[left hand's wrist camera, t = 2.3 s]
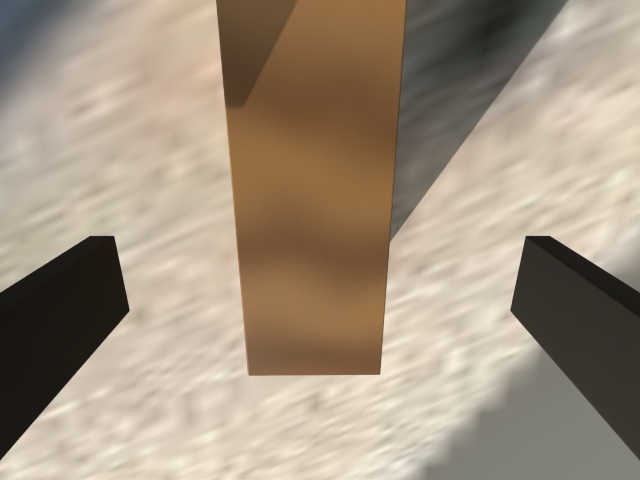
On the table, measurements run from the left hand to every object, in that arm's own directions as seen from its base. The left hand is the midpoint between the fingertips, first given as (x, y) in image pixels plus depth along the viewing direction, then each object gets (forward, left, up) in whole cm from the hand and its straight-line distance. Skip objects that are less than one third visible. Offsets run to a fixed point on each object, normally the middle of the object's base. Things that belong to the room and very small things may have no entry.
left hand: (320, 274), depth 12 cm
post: (+11, +34, -10) cm, 37 cm away
